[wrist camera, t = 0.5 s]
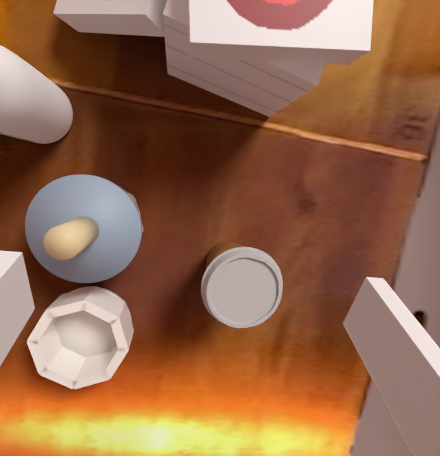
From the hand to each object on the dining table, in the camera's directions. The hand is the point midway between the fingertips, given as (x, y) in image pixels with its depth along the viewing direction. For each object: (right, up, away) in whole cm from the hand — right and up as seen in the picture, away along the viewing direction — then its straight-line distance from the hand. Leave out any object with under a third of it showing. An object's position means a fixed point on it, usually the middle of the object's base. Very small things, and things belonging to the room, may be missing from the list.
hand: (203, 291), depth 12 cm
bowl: (-18, -11, +32) cm, 38 cm away
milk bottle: (-22, +17, +27) cm, 38 cm away
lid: (-15, +2, +24) cm, 28 cm away
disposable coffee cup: (+2, -3, +33) cm, 33 cm away
